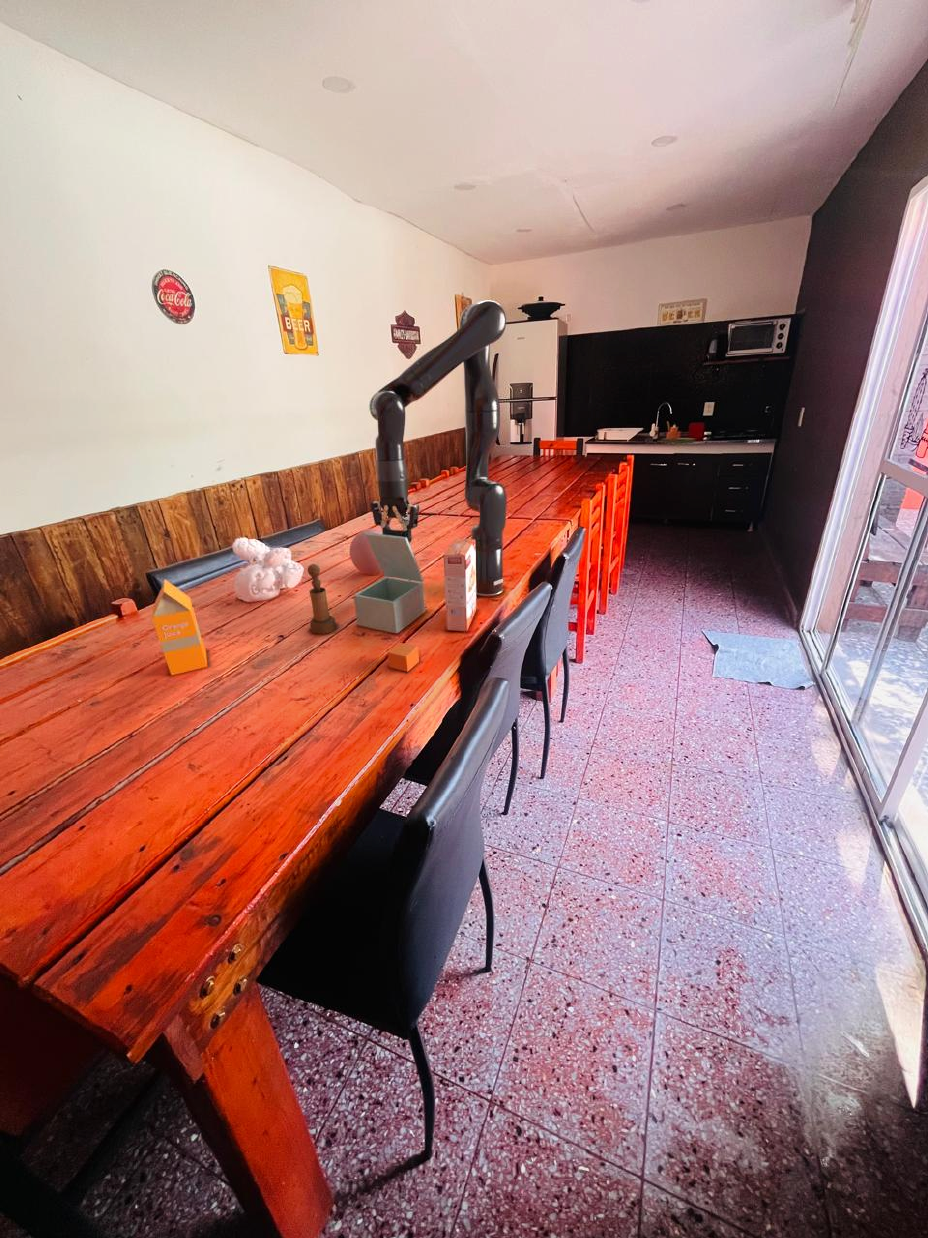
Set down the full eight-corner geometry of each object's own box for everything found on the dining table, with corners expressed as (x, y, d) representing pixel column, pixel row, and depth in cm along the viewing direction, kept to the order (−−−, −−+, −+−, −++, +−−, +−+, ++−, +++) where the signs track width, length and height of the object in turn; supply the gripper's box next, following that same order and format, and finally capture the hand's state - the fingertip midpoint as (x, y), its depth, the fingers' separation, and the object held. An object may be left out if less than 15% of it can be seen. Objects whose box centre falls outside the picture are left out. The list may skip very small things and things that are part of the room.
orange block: (401, 657, 117) (399, 642, 115) (419, 661, 115) (417, 646, 113) (389, 667, 113) (387, 652, 111) (407, 672, 111) (406, 656, 109)
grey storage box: (396, 633, 128) (393, 602, 124) (357, 625, 133) (353, 595, 129) (425, 611, 139) (423, 582, 135) (388, 604, 145) (385, 576, 141)
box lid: (405, 539, 124) (414, 526, 126) (364, 534, 129) (373, 522, 132) (422, 582, 135) (430, 569, 138) (384, 576, 140) (392, 564, 143)
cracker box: (468, 632, 127) (466, 555, 118) (445, 631, 128) (441, 554, 119) (478, 610, 139) (476, 538, 130) (457, 608, 140) (454, 537, 131)
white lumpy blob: (205, 576, 145) (244, 526, 154) (245, 613, 161) (278, 566, 170) (251, 588, 138) (289, 535, 146) (288, 626, 154) (321, 576, 162)
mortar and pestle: (341, 625, 133) (331, 562, 125) (326, 636, 128) (314, 570, 120) (322, 621, 136) (311, 559, 128) (306, 631, 130) (293, 567, 123)
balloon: (402, 560, 180) (398, 519, 173) (395, 580, 162) (390, 535, 155) (359, 562, 180) (354, 520, 173) (348, 582, 162) (341, 537, 155)
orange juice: (170, 675, 113) (143, 595, 104) (171, 658, 120) (145, 582, 111) (208, 666, 116) (184, 587, 107) (206, 650, 123) (184, 575, 114)
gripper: (424, 476, 125) (427, 541, 132) (377, 474, 131) (383, 536, 138) (408, 481, 119) (412, 549, 126) (360, 478, 125) (367, 543, 132)
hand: (397, 542), depth 132 cm, fingers closed on box lid, 5 cm apart
